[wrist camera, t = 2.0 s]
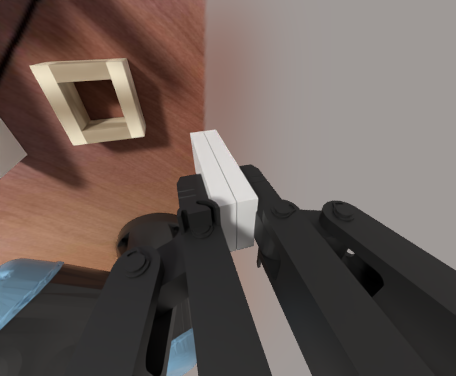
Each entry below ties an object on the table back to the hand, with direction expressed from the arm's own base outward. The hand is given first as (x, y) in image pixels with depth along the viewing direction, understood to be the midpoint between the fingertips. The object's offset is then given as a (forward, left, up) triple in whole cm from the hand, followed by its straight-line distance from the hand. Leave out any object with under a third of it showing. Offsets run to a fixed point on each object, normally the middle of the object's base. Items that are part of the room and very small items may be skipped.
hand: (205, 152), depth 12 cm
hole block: (0, +10, -18) cm, 21 cm away
